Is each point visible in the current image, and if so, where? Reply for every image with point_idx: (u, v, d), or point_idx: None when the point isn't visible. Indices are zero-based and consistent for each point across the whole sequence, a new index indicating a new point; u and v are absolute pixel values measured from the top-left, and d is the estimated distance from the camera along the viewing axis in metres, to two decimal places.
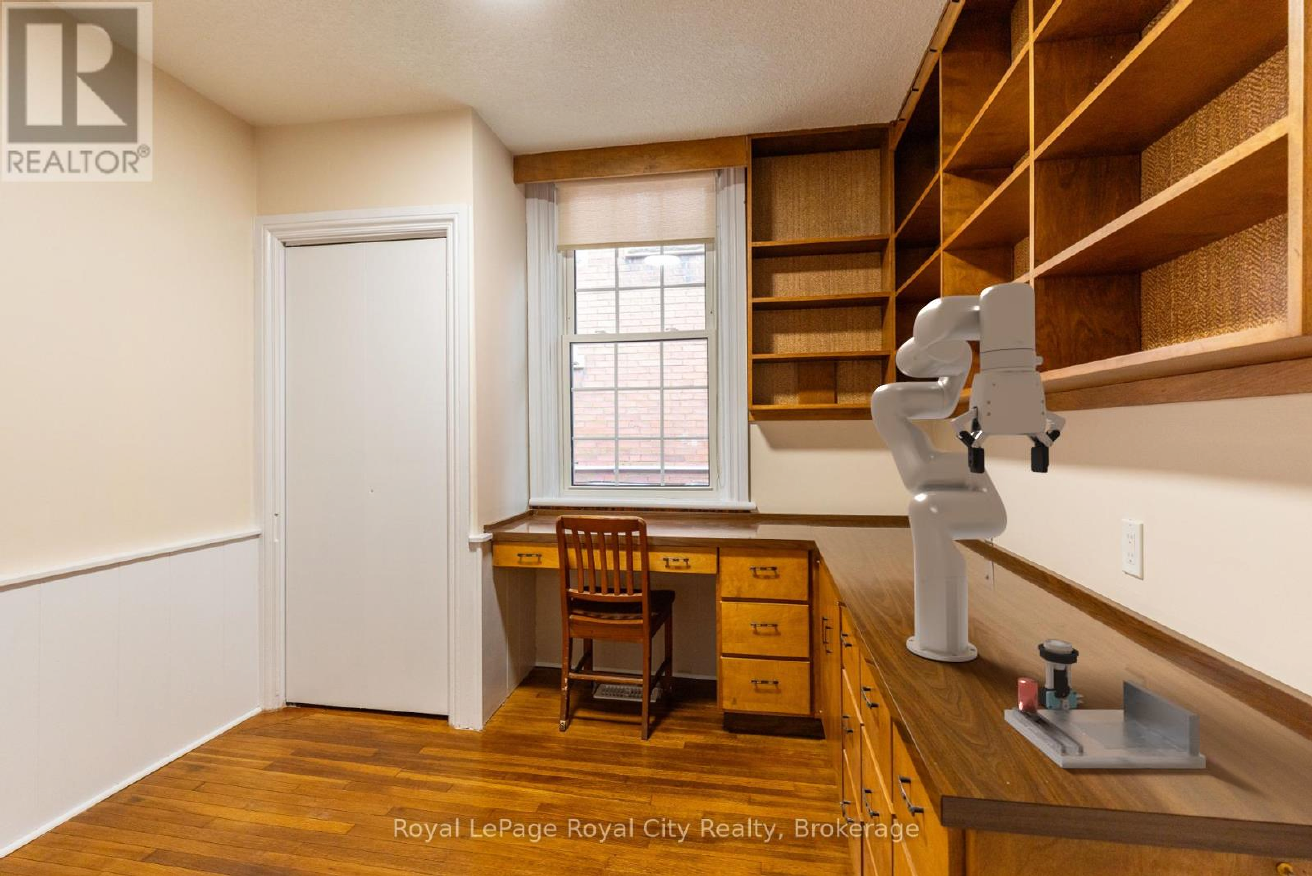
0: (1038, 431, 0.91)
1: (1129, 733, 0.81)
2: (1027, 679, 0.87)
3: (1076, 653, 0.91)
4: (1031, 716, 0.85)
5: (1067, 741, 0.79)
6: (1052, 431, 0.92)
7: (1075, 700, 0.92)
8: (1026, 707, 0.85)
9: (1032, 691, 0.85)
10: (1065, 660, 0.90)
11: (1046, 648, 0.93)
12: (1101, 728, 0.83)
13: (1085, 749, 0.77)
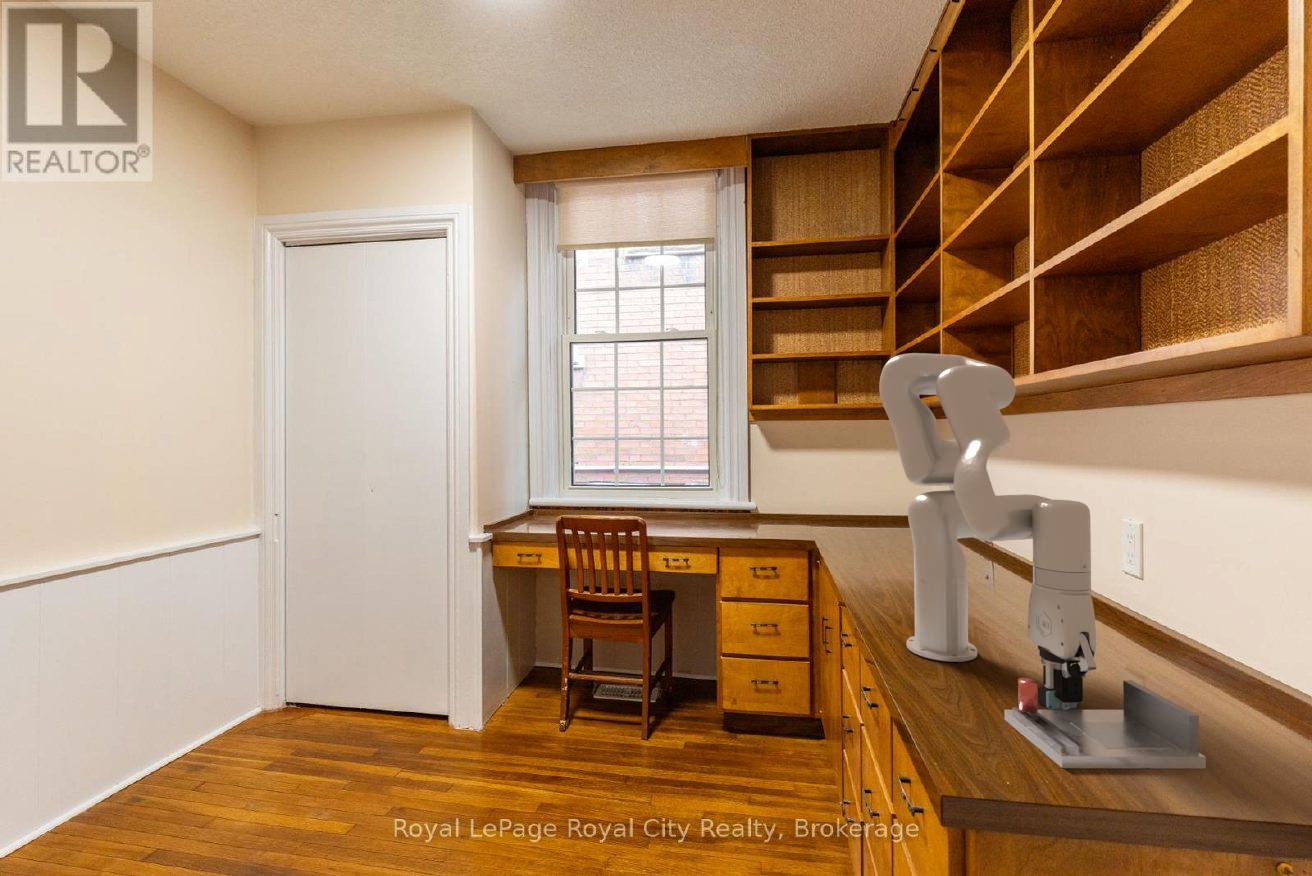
0: None
1: (1129, 733, 0.81)
2: (1027, 679, 0.87)
3: (1076, 653, 0.91)
4: (1031, 716, 0.85)
5: (1067, 741, 0.79)
6: None
7: None
8: (1026, 707, 0.85)
9: (1032, 691, 0.85)
10: None
11: None
12: (1101, 728, 0.83)
13: (1085, 749, 0.77)
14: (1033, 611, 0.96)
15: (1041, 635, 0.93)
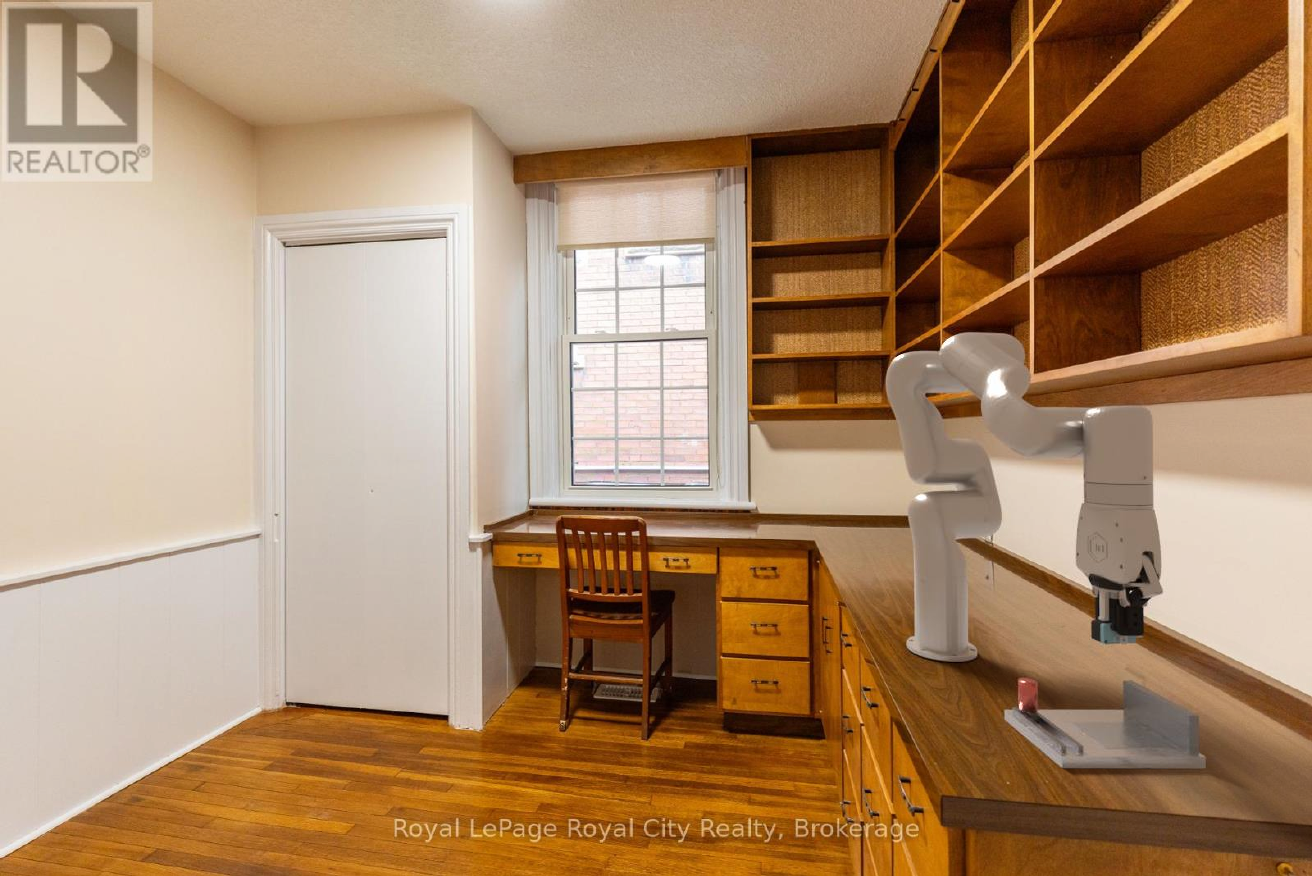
0: None
1: (1129, 733, 0.81)
2: (1027, 679, 0.87)
3: (1136, 579, 0.79)
4: (1031, 716, 0.85)
5: (1067, 741, 0.79)
6: None
7: None
8: (1026, 707, 0.85)
9: (1032, 691, 0.85)
10: None
11: None
12: (1101, 728, 0.83)
13: (1085, 749, 0.77)
14: (1083, 535, 0.84)
15: (1094, 561, 0.82)
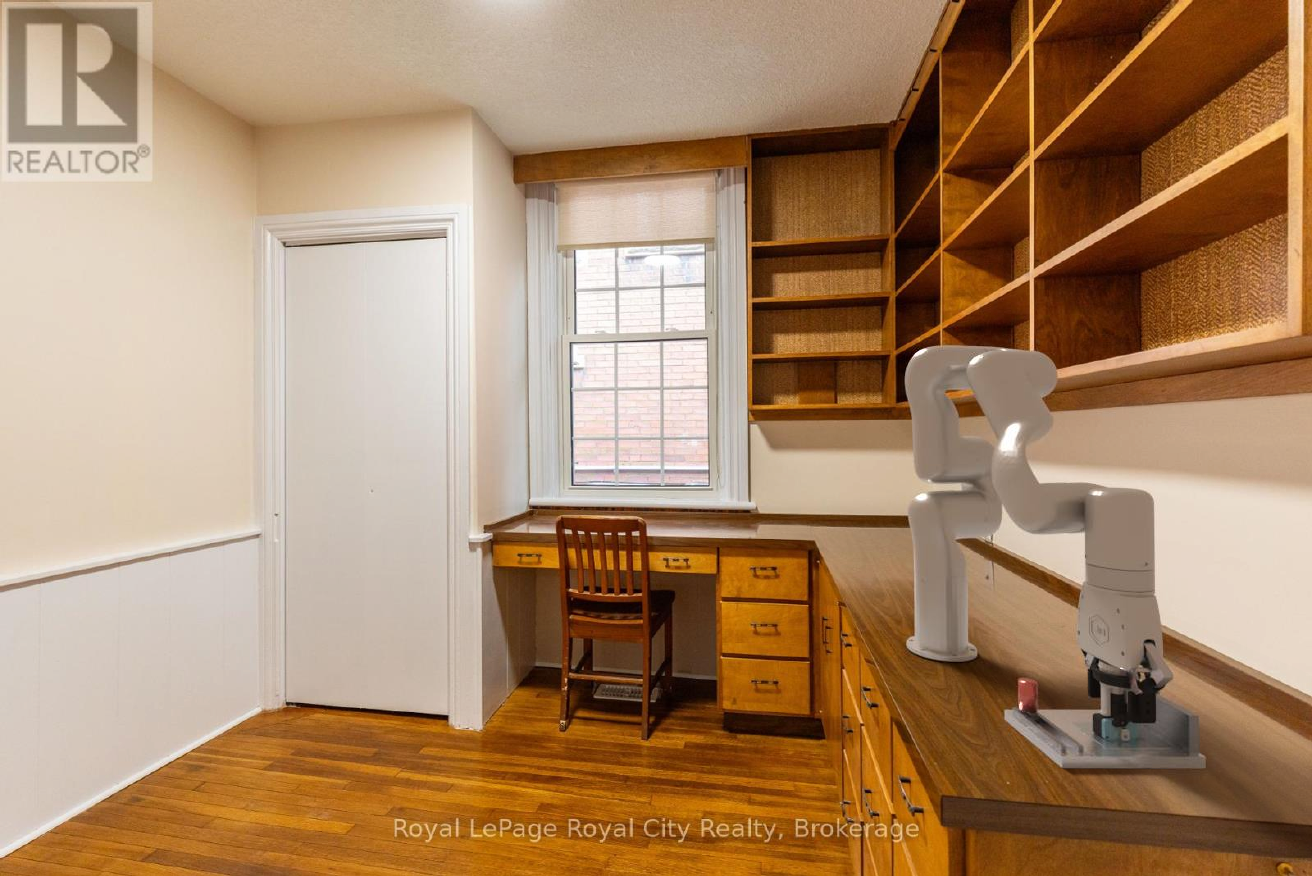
0: None
1: None
2: (1027, 679, 0.87)
3: (1138, 675, 0.78)
4: (1031, 716, 0.85)
5: (1067, 741, 0.79)
6: None
7: (1136, 729, 0.80)
8: (1026, 707, 0.85)
9: (1032, 691, 0.85)
10: (1125, 683, 0.78)
11: (1101, 669, 0.81)
12: None
13: (1085, 749, 0.77)
14: (1085, 615, 0.84)
15: (1095, 642, 0.81)
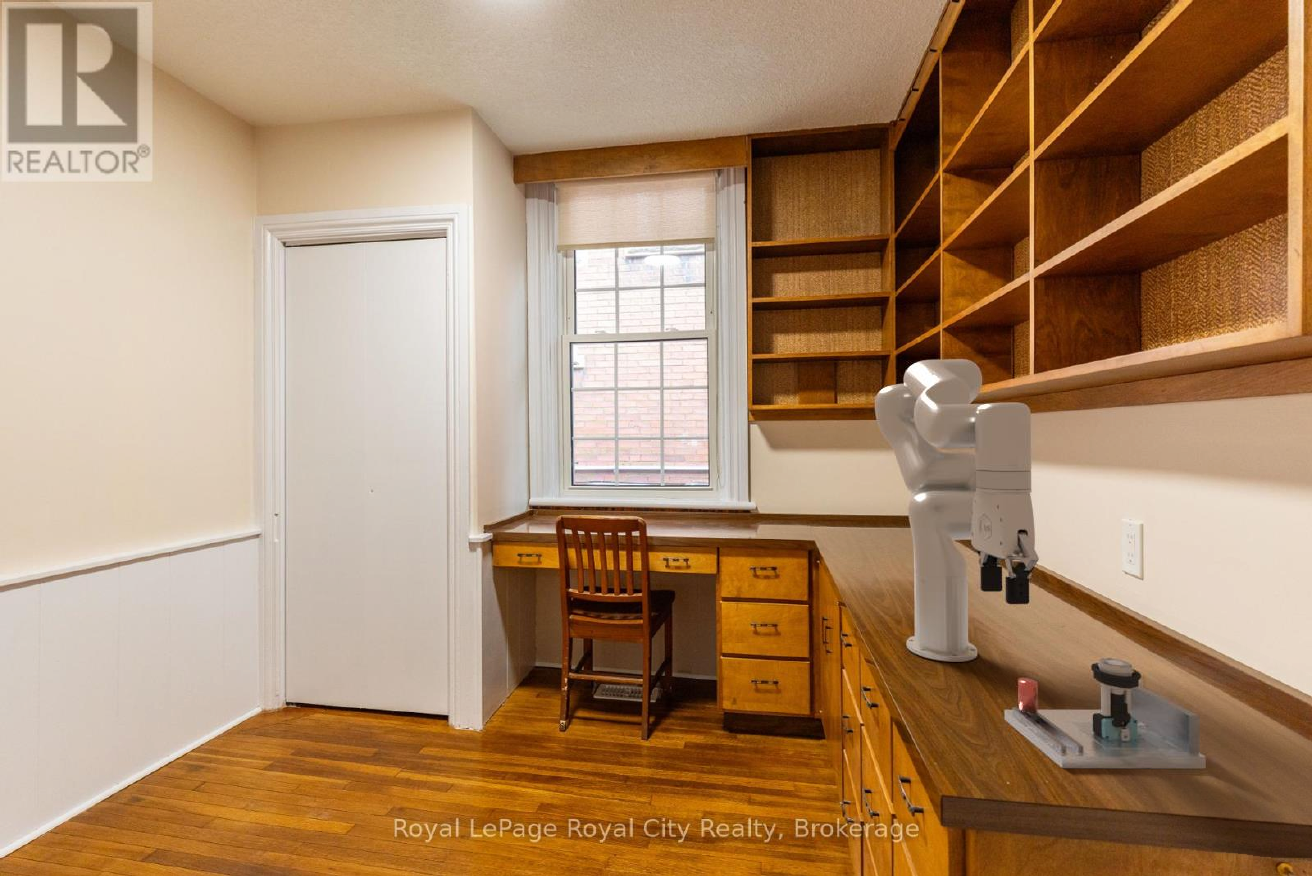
0: None
1: None
2: (1027, 679, 0.87)
3: (1138, 675, 0.78)
4: (1031, 716, 0.85)
5: (1067, 741, 0.79)
6: None
7: (1136, 729, 0.80)
8: (1026, 707, 0.85)
9: (1032, 691, 0.85)
10: (1125, 684, 0.78)
11: (1101, 669, 0.80)
12: None
13: (1085, 749, 0.77)
14: (976, 517, 0.95)
15: (983, 539, 0.93)
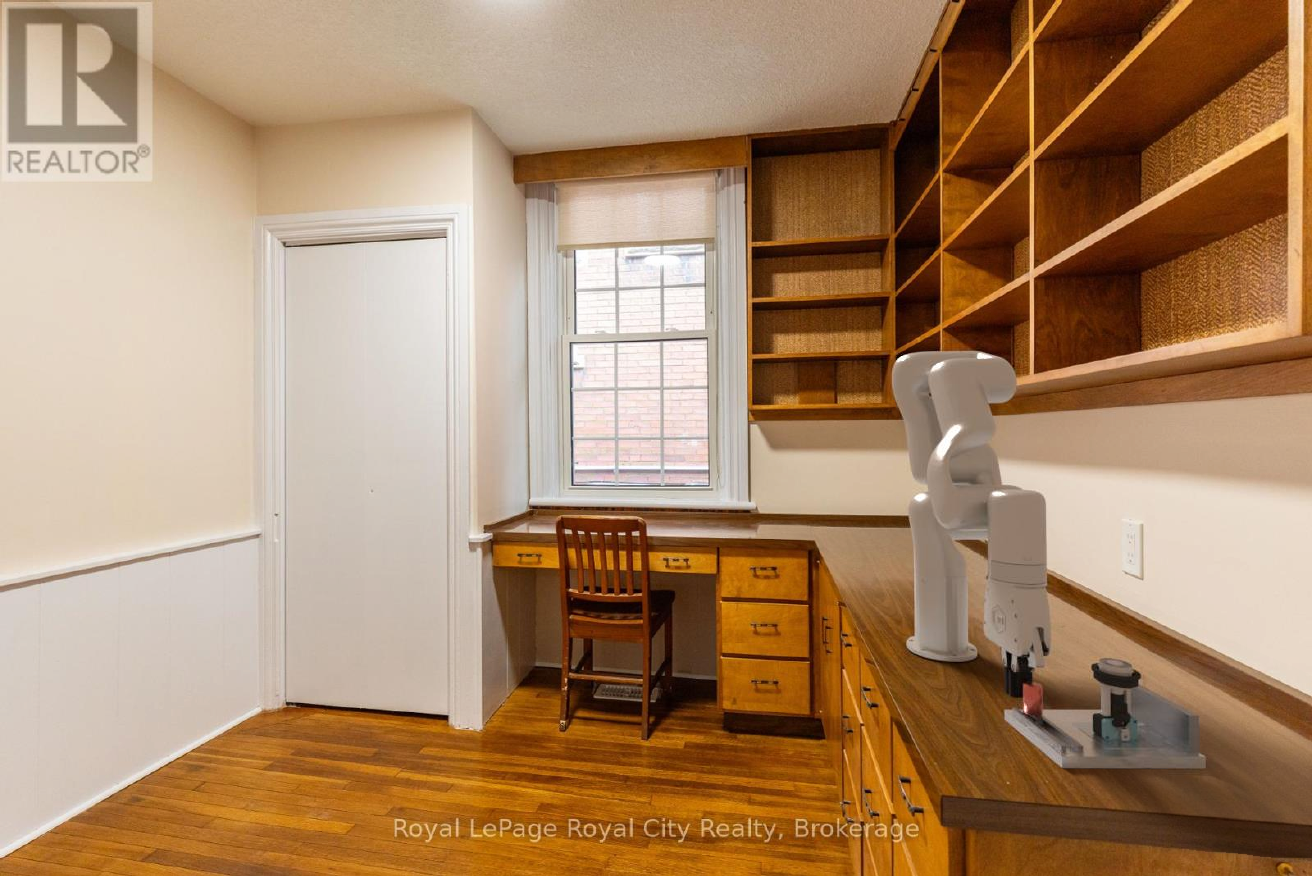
0: None
1: None
2: (1032, 682, 0.86)
3: (1138, 675, 0.78)
4: (1036, 720, 0.83)
5: (1067, 741, 0.79)
6: None
7: (1136, 729, 0.80)
8: (1031, 711, 0.84)
9: (1037, 694, 0.84)
10: (1125, 684, 0.78)
11: (1101, 669, 0.80)
12: None
13: (1085, 749, 0.77)
14: (989, 606, 0.91)
15: (996, 631, 0.89)
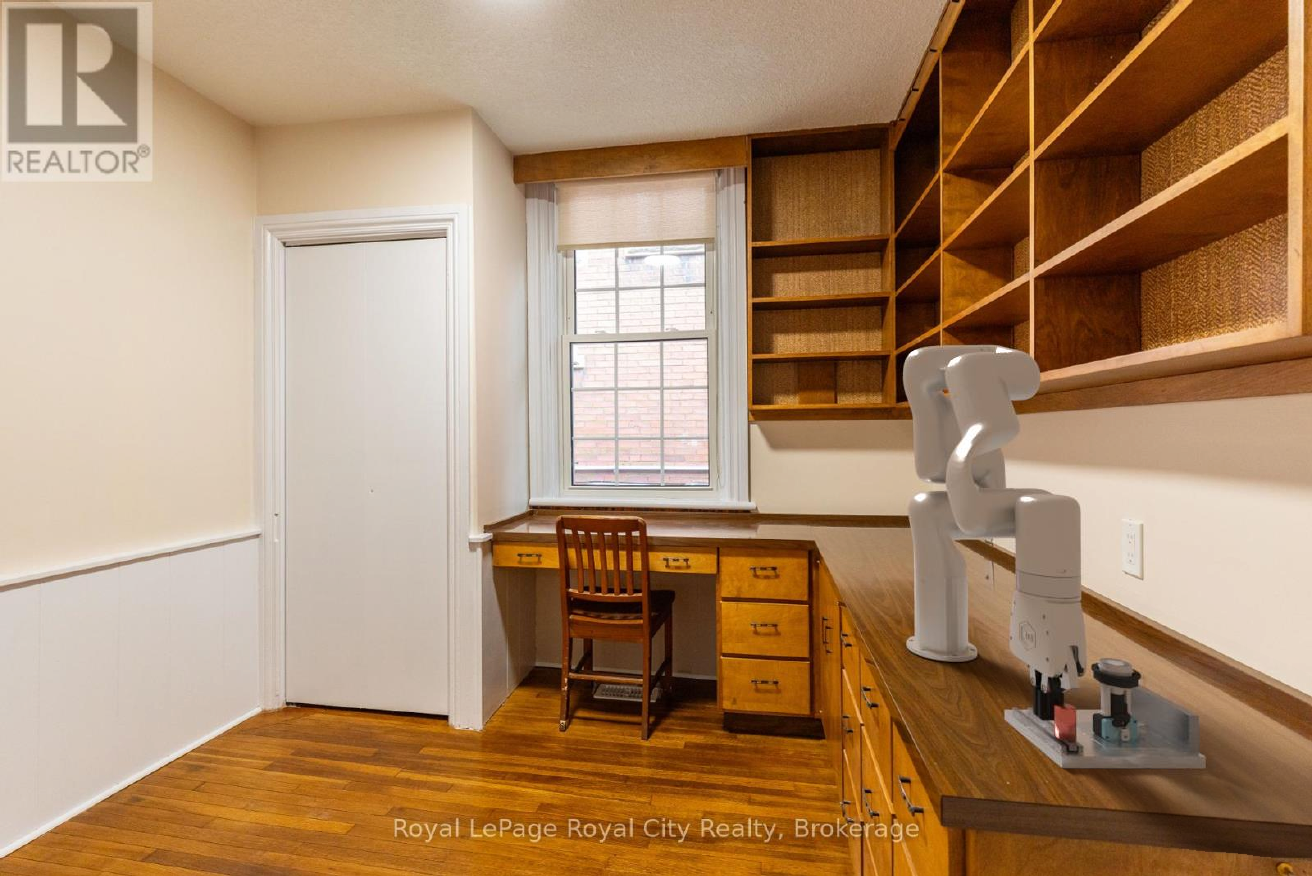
0: None
1: None
2: (1064, 704, 0.79)
3: (1138, 675, 0.78)
4: (1069, 746, 0.76)
5: None
6: None
7: (1136, 729, 0.80)
8: (1064, 736, 0.77)
9: (1070, 718, 0.77)
10: (1125, 684, 0.78)
11: (1101, 669, 0.80)
12: None
13: (1085, 749, 0.77)
14: (1016, 621, 0.84)
15: (1024, 648, 0.82)
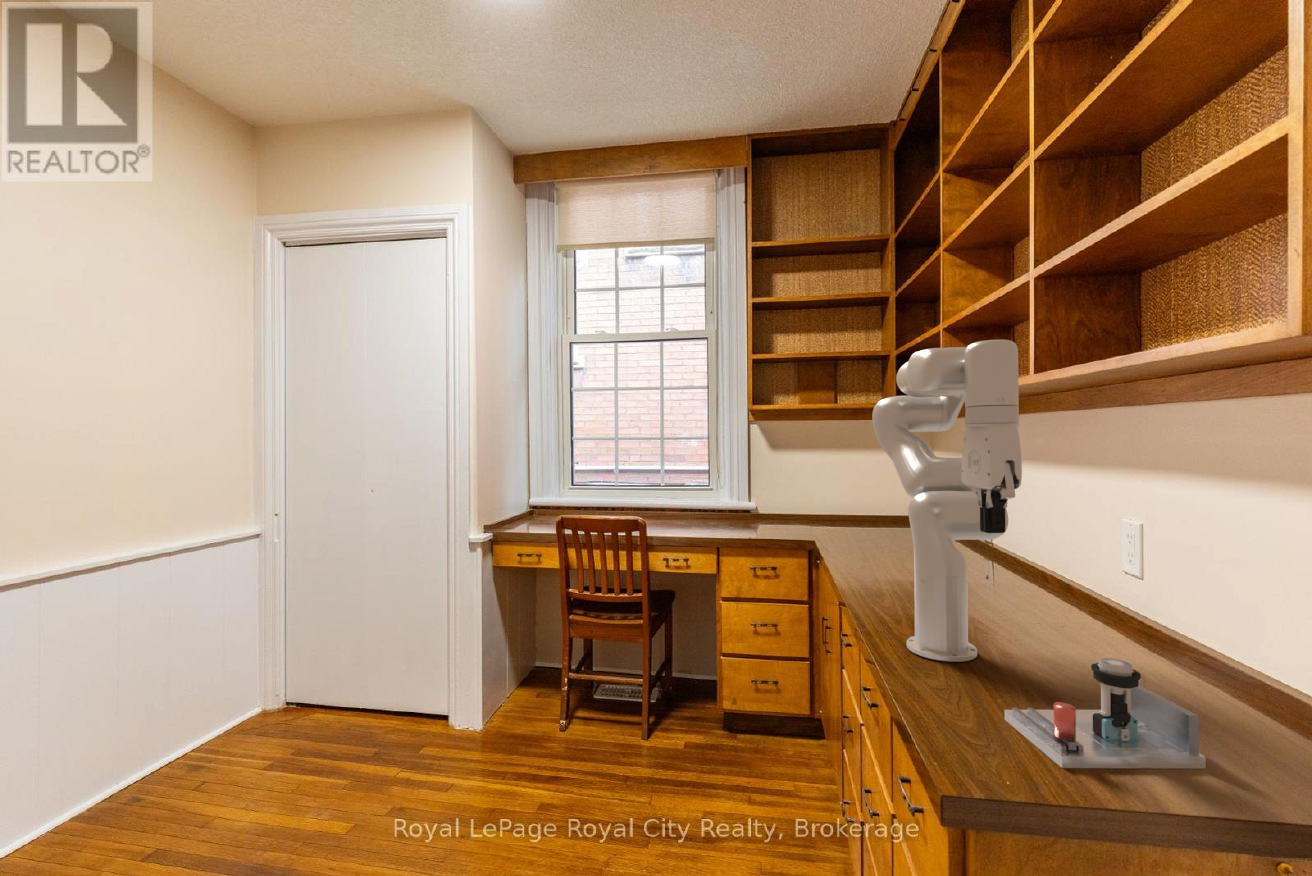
0: None
1: None
2: (1063, 703, 0.79)
3: (1138, 675, 0.78)
4: (1069, 745, 0.77)
5: None
6: None
7: (1136, 729, 0.80)
8: (1063, 735, 0.77)
9: (1070, 717, 0.77)
10: (1125, 684, 0.78)
11: (1101, 669, 0.80)
12: None
13: (1085, 749, 0.77)
14: (966, 454, 0.98)
15: (972, 474, 0.96)
